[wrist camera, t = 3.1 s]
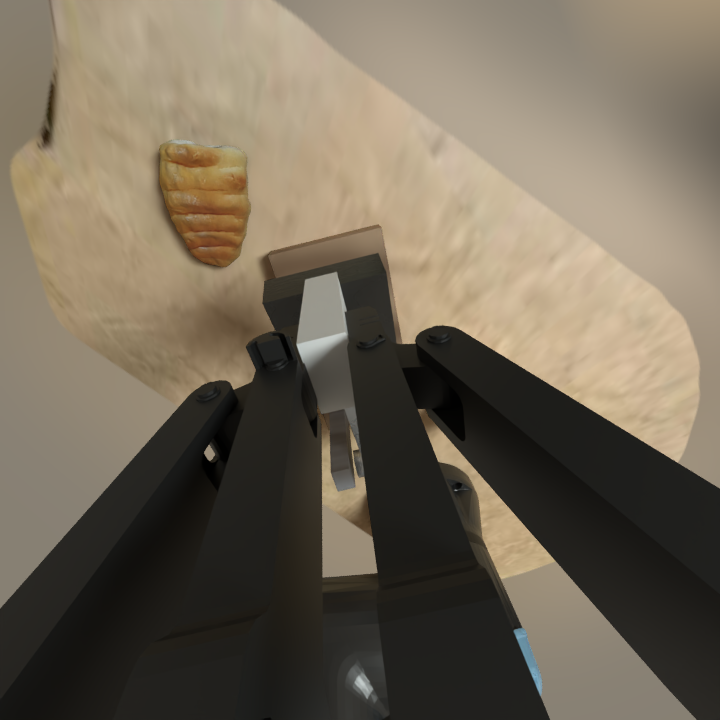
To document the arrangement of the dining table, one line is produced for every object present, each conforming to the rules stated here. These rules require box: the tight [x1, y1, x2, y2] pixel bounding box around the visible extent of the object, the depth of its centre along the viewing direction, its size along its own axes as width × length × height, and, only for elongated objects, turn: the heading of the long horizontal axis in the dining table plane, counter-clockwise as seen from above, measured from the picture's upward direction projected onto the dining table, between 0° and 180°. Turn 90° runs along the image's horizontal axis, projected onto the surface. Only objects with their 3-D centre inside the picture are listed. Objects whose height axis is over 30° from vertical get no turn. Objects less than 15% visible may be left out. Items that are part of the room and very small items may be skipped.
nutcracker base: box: [268, 225, 402, 491], centre depth 31 cm, size 20×10×12 cm, turn 13°
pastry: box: [159, 139, 251, 267], centre depth 27 cm, size 9×7×4 cm
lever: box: [263, 253, 397, 478], centre depth 24 cm, size 21×6×3 cm, turn 10°
